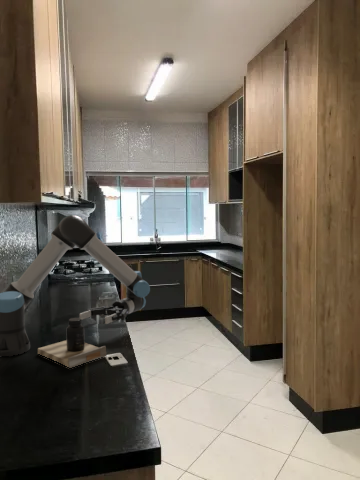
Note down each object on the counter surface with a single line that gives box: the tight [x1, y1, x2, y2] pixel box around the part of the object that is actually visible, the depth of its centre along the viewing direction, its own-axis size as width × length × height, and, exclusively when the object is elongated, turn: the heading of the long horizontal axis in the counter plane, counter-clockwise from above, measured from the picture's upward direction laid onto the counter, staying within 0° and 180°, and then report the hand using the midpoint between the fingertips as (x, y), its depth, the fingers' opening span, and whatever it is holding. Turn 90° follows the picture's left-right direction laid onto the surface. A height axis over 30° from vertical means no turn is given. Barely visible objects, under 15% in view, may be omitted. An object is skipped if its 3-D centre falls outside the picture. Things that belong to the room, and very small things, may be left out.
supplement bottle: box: [65, 317, 86, 352], centre depth 150 cm, size 7×7×12 cm
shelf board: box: [37, 340, 107, 369], centre depth 150 cm, size 23×16×4 cm
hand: (92, 318), depth 159 cm, fingers open, 13 cm apart
